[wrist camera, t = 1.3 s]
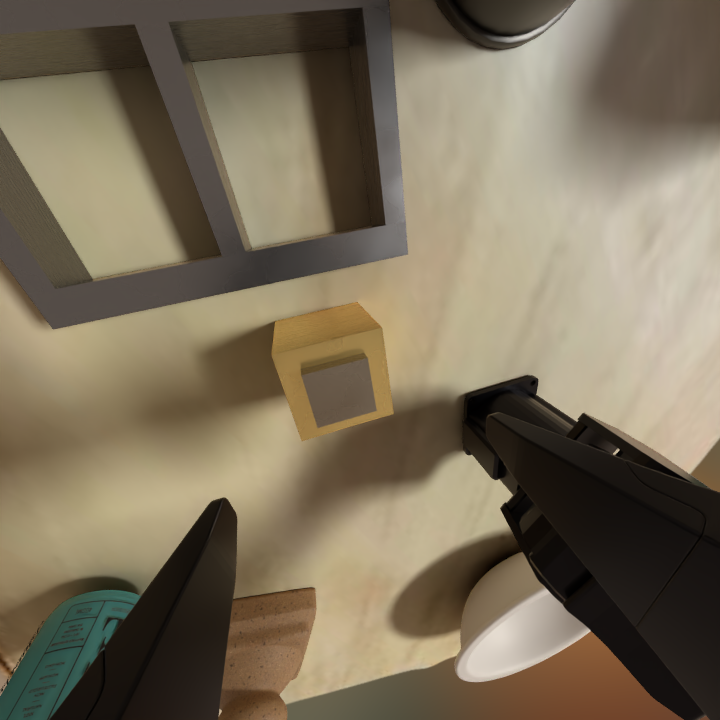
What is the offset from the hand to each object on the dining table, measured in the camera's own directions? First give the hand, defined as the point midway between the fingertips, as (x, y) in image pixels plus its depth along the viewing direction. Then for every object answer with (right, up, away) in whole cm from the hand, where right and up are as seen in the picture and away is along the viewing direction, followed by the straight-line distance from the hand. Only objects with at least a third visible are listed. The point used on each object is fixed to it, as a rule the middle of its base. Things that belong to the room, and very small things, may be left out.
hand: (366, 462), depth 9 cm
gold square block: (-2, +4, +8) cm, 10 cm away
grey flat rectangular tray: (-7, +12, +3) cm, 14 cm away
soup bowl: (+21, -26, +29) cm, 44 cm away
